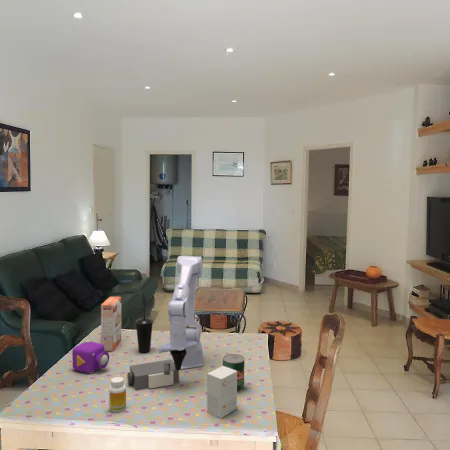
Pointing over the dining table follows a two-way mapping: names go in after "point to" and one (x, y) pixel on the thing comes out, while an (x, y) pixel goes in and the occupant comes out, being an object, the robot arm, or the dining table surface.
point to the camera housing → (149, 373)
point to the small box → (221, 391)
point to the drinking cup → (144, 333)
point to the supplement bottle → (117, 395)
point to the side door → (161, 378)
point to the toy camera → (89, 357)
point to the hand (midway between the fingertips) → (177, 369)
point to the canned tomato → (236, 368)
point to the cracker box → (111, 323)
